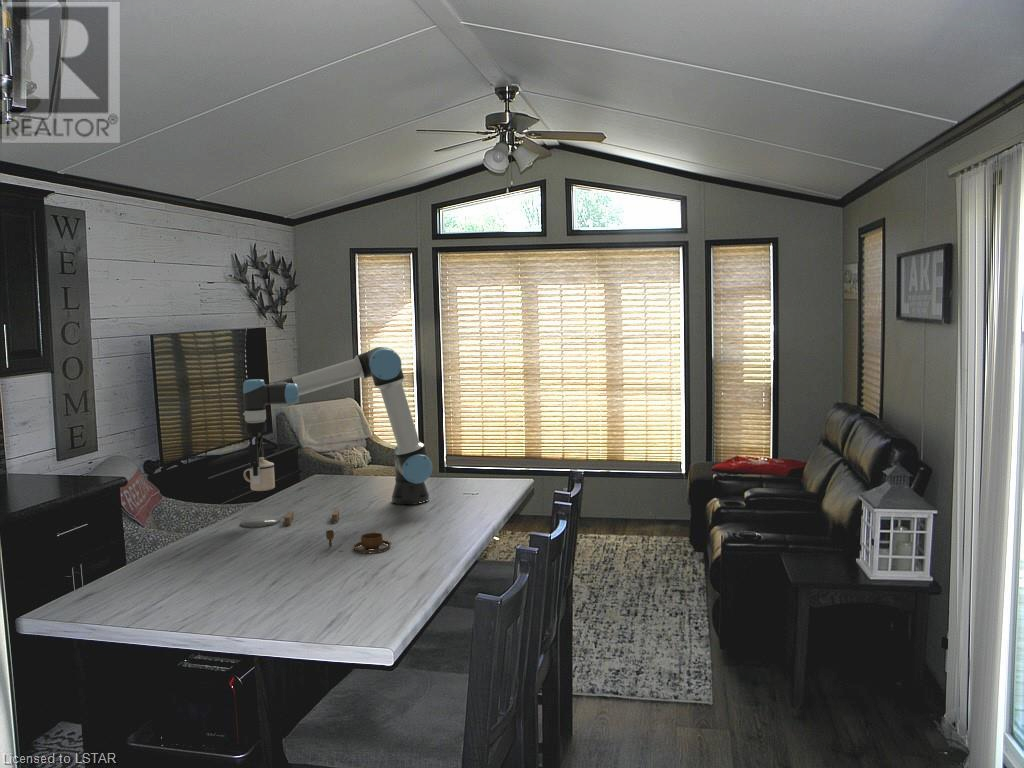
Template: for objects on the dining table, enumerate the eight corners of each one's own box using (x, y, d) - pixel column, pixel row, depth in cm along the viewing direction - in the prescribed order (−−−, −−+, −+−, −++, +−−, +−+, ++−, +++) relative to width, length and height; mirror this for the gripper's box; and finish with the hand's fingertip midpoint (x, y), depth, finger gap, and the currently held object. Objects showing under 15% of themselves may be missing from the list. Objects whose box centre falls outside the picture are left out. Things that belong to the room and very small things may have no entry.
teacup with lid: (280, 486, 313) (278, 455, 312) (267, 491, 304) (266, 460, 303) (251, 485, 316) (249, 455, 314) (238, 490, 307) (236, 459, 306)
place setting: (362, 559, 262) (362, 541, 261) (323, 549, 274) (322, 531, 274) (404, 546, 275) (403, 529, 275) (364, 537, 288) (363, 520, 287)
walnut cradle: (339, 516, 317) (338, 508, 317) (337, 522, 307) (337, 514, 307) (287, 519, 315) (287, 511, 314) (284, 525, 305) (284, 517, 304)
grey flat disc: (282, 517, 318) (282, 514, 318) (277, 526, 304) (277, 523, 304) (244, 519, 316) (244, 516, 316) (237, 528, 302) (237, 525, 302)
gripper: (249, 418, 317) (252, 476, 319) (239, 425, 296) (243, 488, 298) (270, 417, 318) (272, 475, 320) (261, 424, 297) (264, 487, 299)
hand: (258, 481), depth 309 cm, fingers closed on teacup with lid, 9 cm apart
